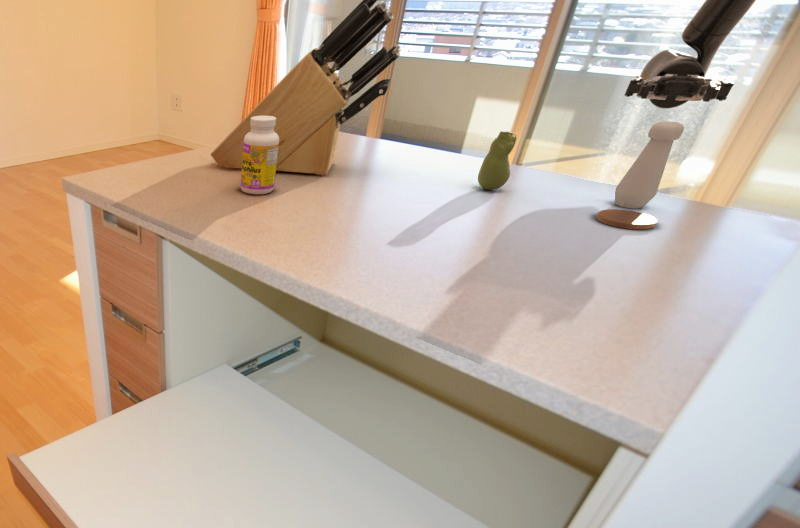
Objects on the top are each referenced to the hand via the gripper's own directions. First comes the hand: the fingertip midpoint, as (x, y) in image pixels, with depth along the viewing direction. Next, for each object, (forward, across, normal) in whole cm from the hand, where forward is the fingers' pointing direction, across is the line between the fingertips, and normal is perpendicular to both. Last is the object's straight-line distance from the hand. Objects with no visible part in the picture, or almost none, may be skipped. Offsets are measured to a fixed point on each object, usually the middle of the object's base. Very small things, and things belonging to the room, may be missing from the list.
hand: (677, 93), depth 91 cm
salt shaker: (+9, 0, +16) cm, 19 cm away
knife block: (+15, -62, +16) cm, 65 cm away
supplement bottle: (+35, -60, +16) cm, 71 cm away
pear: (+11, -22, +16) cm, 30 cm away
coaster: (+20, 0, +16) cm, 26 cm away
